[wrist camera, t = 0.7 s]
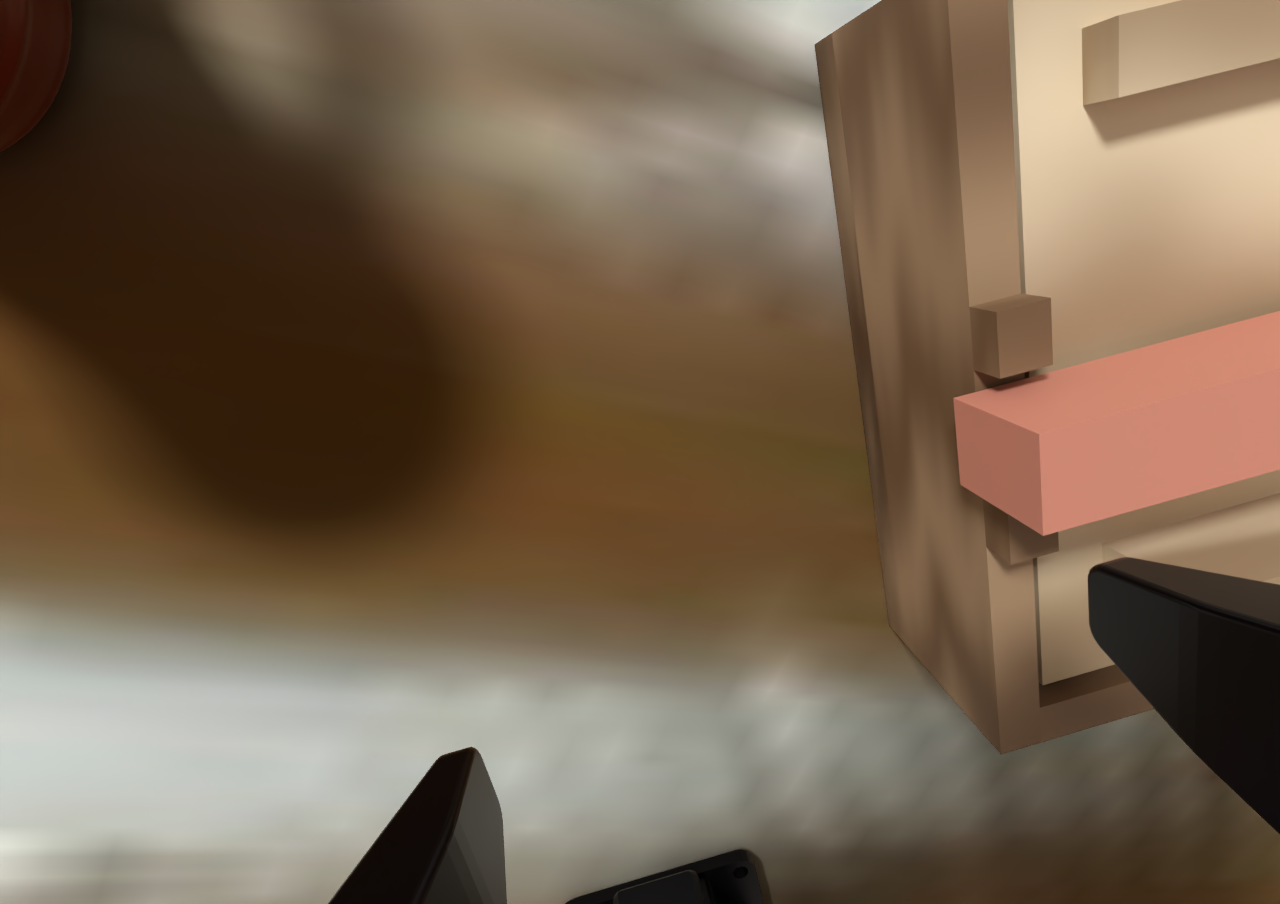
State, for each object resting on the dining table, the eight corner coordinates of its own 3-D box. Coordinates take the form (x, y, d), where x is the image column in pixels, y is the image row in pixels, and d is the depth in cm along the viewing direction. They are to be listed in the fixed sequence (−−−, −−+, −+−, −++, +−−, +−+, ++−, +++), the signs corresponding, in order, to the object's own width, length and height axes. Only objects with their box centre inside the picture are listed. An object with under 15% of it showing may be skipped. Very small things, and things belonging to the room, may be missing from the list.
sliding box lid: (1300, 582, 17) (1462, 659, 14) (1020, 664, 17) (1124, 760, 14) (1369, -93, 13) (1632, -193, 10) (983, -2, 12) (1128, -77, 9)
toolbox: (1191, 539, 22) (1433, 657, 16) (889, 625, 21) (1023, 780, 15) (1215, -51, 17) (1590, -203, 11) (814, 44, 16) (974, -61, 10)
